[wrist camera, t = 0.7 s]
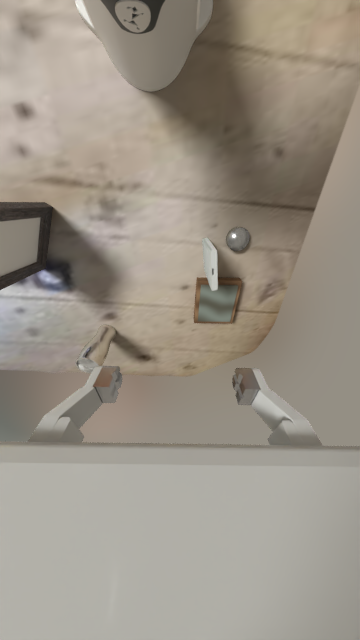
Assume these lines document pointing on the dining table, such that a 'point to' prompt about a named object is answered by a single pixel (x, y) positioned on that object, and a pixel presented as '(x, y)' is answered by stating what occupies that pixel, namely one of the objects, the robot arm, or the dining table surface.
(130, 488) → the robot arm
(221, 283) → the mirror
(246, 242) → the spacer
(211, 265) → the external hard drive
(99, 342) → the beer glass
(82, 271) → the dining table surface
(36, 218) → the picture frame
